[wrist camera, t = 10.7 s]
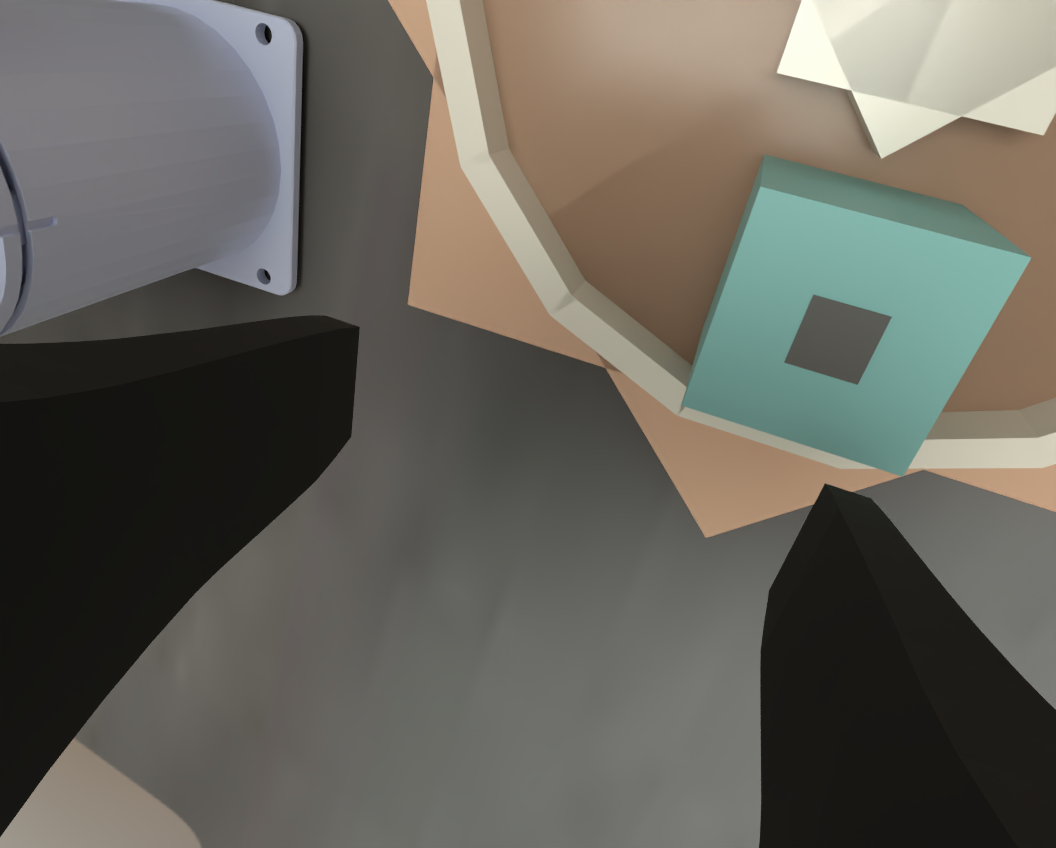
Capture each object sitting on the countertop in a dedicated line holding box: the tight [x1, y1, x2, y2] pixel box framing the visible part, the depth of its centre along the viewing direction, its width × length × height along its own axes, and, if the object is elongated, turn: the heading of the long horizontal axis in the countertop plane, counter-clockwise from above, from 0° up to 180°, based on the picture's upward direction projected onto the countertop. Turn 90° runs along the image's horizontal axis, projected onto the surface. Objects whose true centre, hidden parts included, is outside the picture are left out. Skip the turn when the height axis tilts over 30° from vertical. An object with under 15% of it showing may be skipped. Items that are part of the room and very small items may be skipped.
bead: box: [682, 154, 1031, 477], centre depth 15 cm, size 4×4×5 cm
